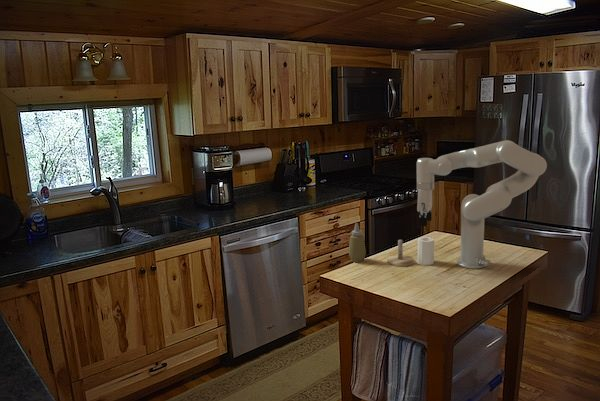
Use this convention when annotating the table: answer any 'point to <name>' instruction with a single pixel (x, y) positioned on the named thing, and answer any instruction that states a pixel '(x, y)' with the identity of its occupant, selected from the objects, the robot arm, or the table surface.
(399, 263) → the roll stand
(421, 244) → the paper roll
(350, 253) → the squeeze bottle
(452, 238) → the table surface
